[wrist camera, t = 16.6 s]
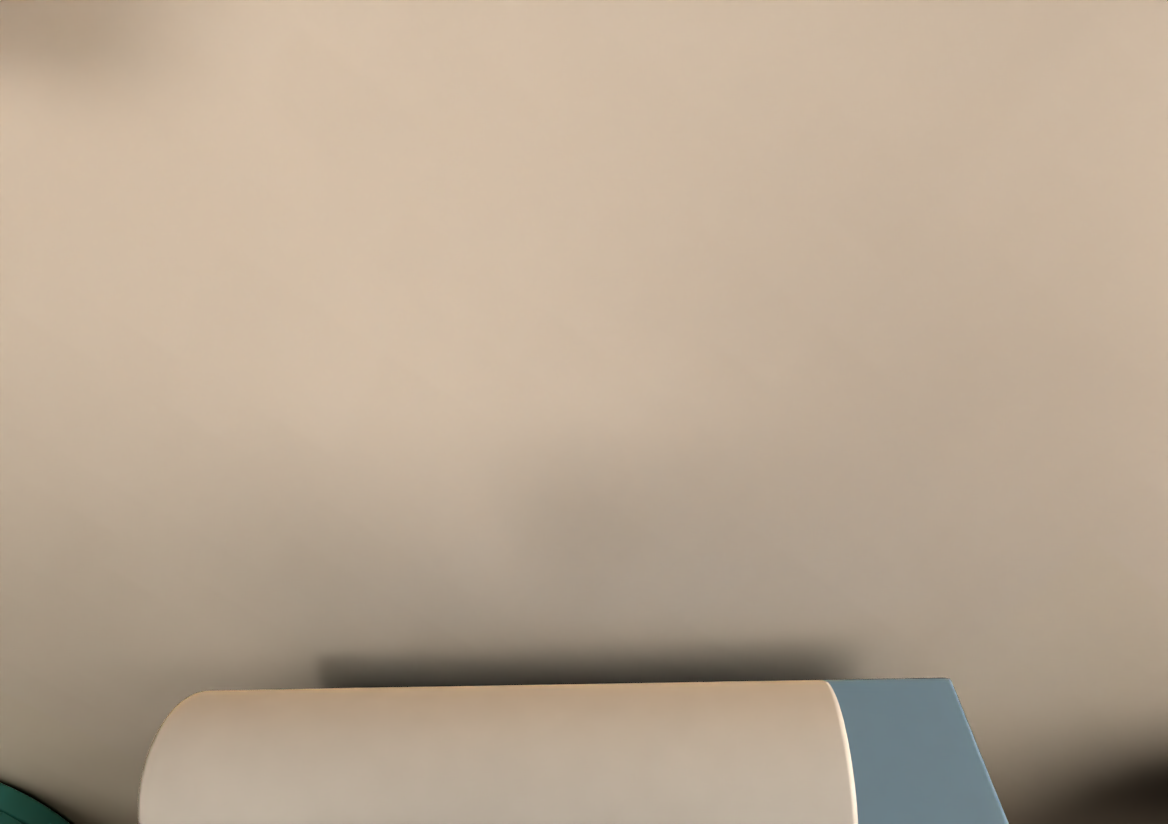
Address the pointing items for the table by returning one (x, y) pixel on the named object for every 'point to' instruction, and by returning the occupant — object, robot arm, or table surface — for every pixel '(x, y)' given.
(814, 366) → the table surface
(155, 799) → the blue drawer
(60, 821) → the detergent bottle
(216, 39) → the table surface
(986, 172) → the table surface
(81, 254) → the table surface
